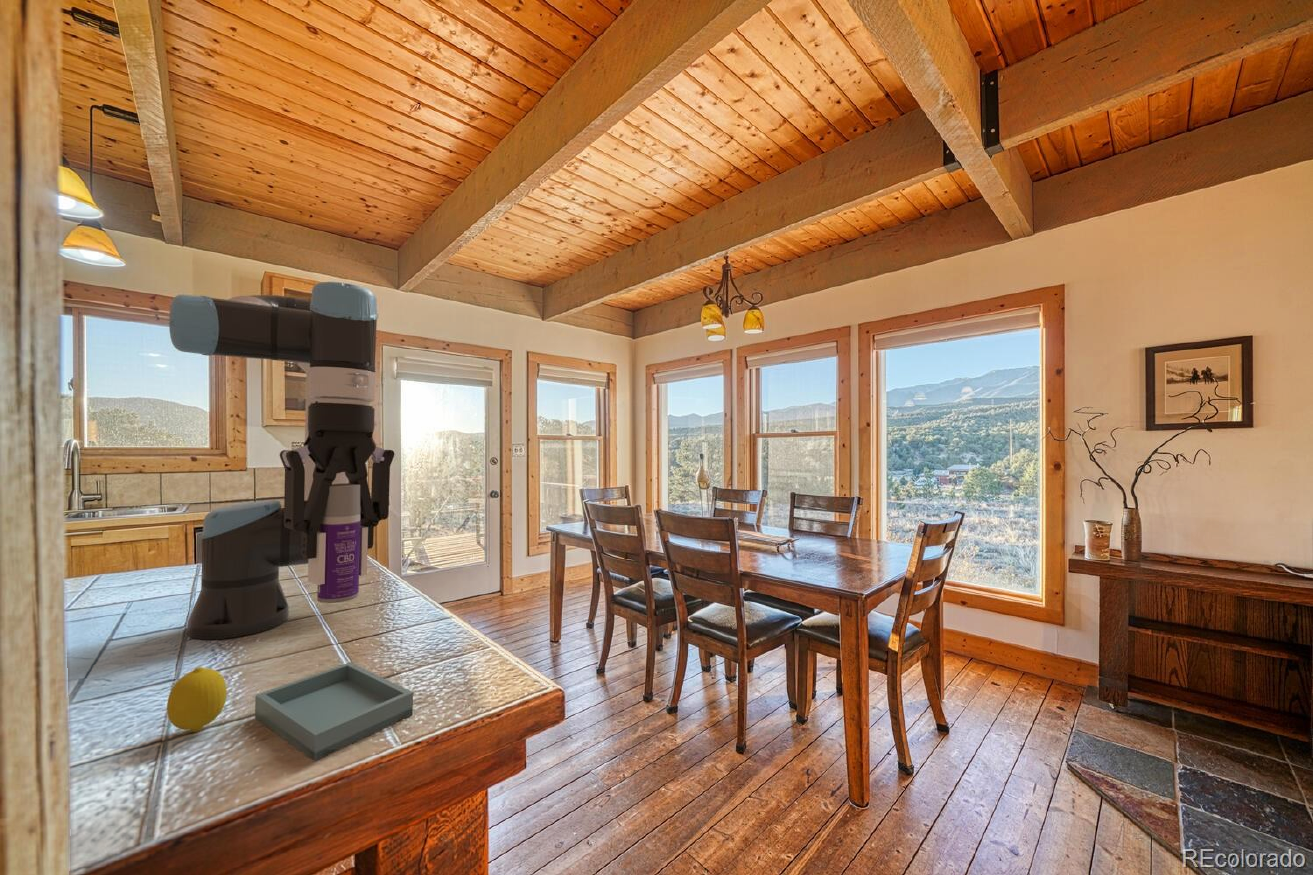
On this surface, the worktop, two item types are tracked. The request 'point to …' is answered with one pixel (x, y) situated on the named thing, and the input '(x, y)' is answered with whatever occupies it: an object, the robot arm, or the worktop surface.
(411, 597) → the worktop surface
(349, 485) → the container
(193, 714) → the lemon
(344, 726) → the tray
